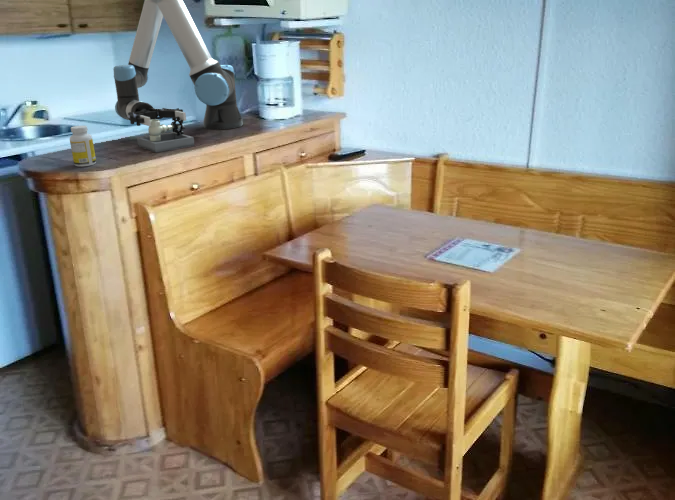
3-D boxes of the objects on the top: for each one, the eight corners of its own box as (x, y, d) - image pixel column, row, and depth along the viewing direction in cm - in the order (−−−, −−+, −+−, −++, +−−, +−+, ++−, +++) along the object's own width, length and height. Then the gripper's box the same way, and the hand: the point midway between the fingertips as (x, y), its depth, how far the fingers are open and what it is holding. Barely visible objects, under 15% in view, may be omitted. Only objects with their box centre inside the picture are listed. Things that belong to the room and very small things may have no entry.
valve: (156, 143, 216) (185, 137, 224) (155, 123, 213) (184, 118, 222) (144, 138, 219) (173, 133, 228) (143, 119, 217) (172, 114, 225)
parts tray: (175, 140, 233) (174, 131, 232) (194, 145, 223) (193, 137, 222) (138, 146, 225) (137, 137, 224) (156, 152, 215) (154, 143, 214)
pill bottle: (94, 161, 206) (87, 124, 202) (98, 165, 201) (92, 127, 197) (72, 164, 203) (65, 126, 199) (76, 168, 198) (69, 129, 194)
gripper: (173, 118, 242) (201, 125, 226) (109, 127, 228) (134, 135, 212) (170, 97, 239) (199, 103, 224) (105, 105, 225) (131, 112, 210)
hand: (167, 119), depth 218 cm, fingers closed on valve, 12 cm apart
